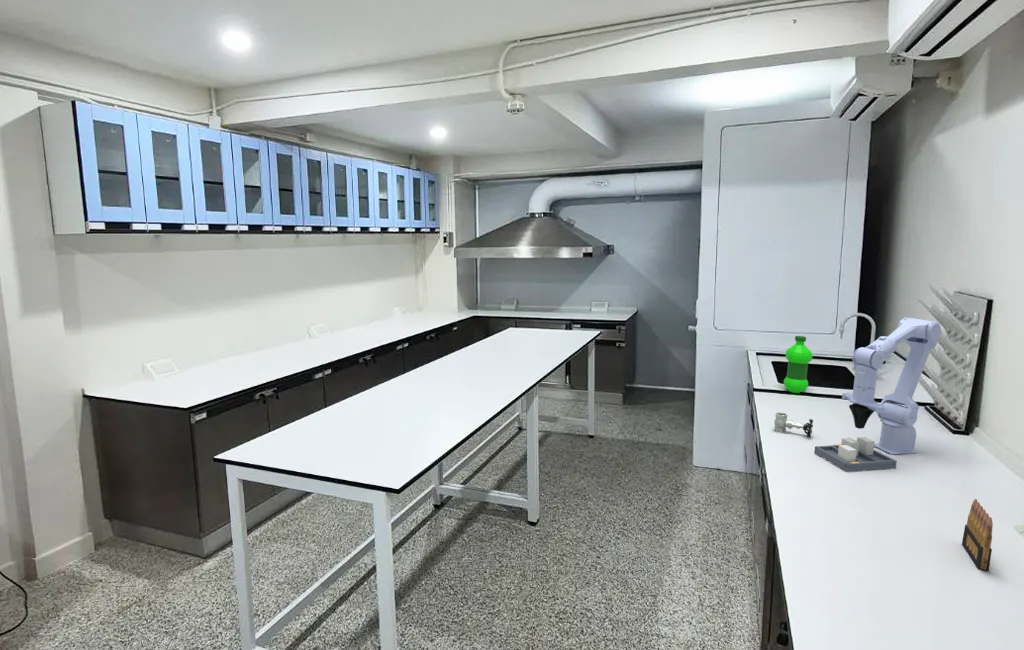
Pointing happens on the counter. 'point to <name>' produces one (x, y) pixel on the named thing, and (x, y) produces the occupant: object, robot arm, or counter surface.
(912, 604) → the counter surface
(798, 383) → the plastic bottle
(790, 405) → the counter surface
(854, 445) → the off-white block
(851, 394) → the robot arm
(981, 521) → the ammunition clip
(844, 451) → the off-white plastic block
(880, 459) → the grey divided tray
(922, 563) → the counter surface
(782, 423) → the valve
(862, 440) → the pale grey block
